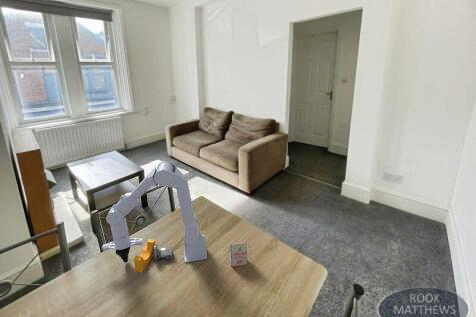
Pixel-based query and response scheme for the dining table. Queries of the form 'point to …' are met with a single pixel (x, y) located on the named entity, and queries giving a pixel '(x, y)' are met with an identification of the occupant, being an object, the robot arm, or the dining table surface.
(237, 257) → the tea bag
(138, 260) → the pipe clamp
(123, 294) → the dining table surface
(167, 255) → the pipe fixture
